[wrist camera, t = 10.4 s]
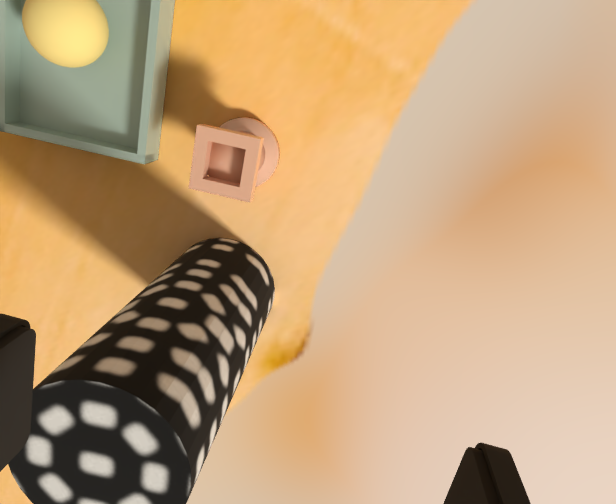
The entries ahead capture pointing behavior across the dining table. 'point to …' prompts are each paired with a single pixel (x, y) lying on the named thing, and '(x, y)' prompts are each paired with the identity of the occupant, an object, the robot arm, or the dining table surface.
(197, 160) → the egg cup
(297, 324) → the dining table surface
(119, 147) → the tray
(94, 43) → the ball
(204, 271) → the white-spotted black cylinder
